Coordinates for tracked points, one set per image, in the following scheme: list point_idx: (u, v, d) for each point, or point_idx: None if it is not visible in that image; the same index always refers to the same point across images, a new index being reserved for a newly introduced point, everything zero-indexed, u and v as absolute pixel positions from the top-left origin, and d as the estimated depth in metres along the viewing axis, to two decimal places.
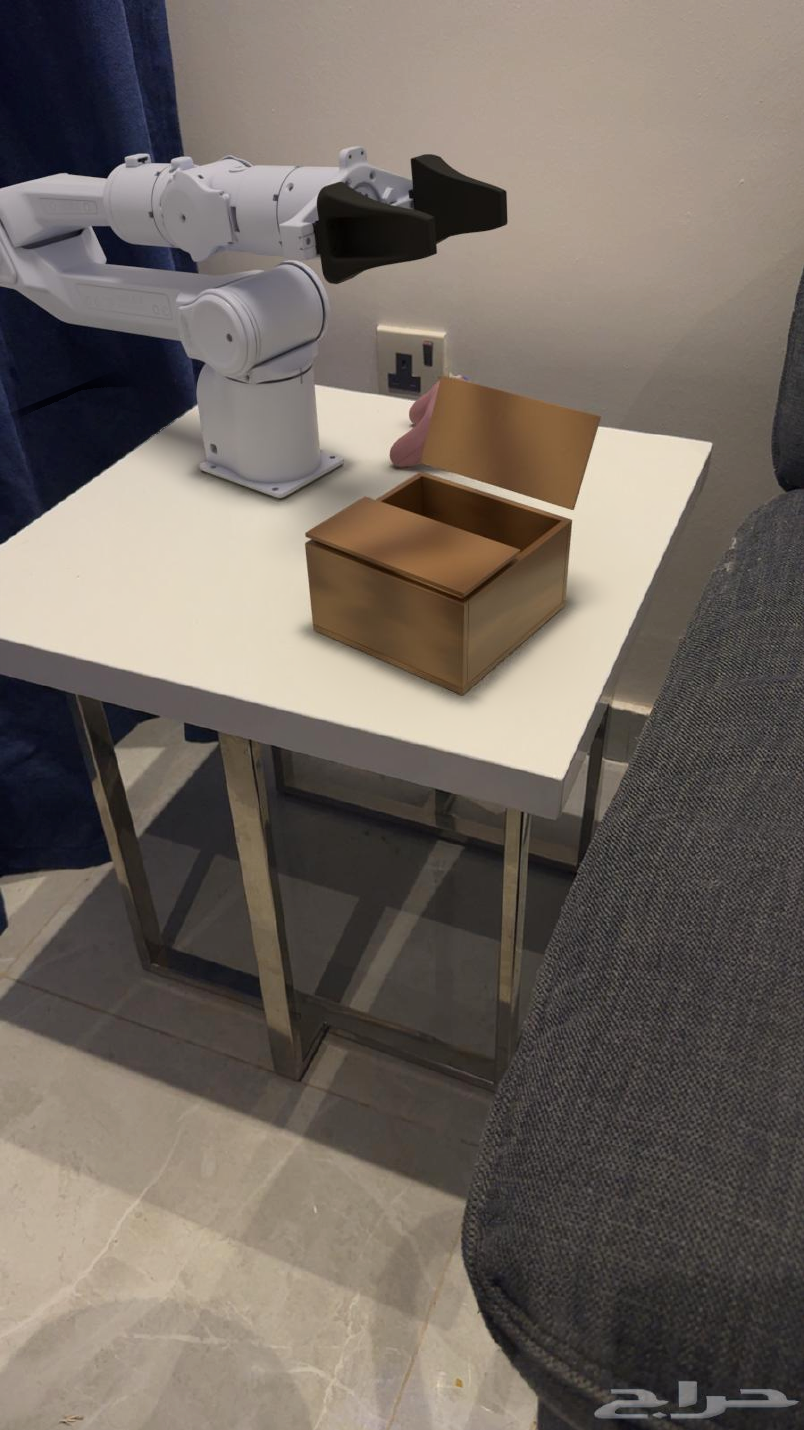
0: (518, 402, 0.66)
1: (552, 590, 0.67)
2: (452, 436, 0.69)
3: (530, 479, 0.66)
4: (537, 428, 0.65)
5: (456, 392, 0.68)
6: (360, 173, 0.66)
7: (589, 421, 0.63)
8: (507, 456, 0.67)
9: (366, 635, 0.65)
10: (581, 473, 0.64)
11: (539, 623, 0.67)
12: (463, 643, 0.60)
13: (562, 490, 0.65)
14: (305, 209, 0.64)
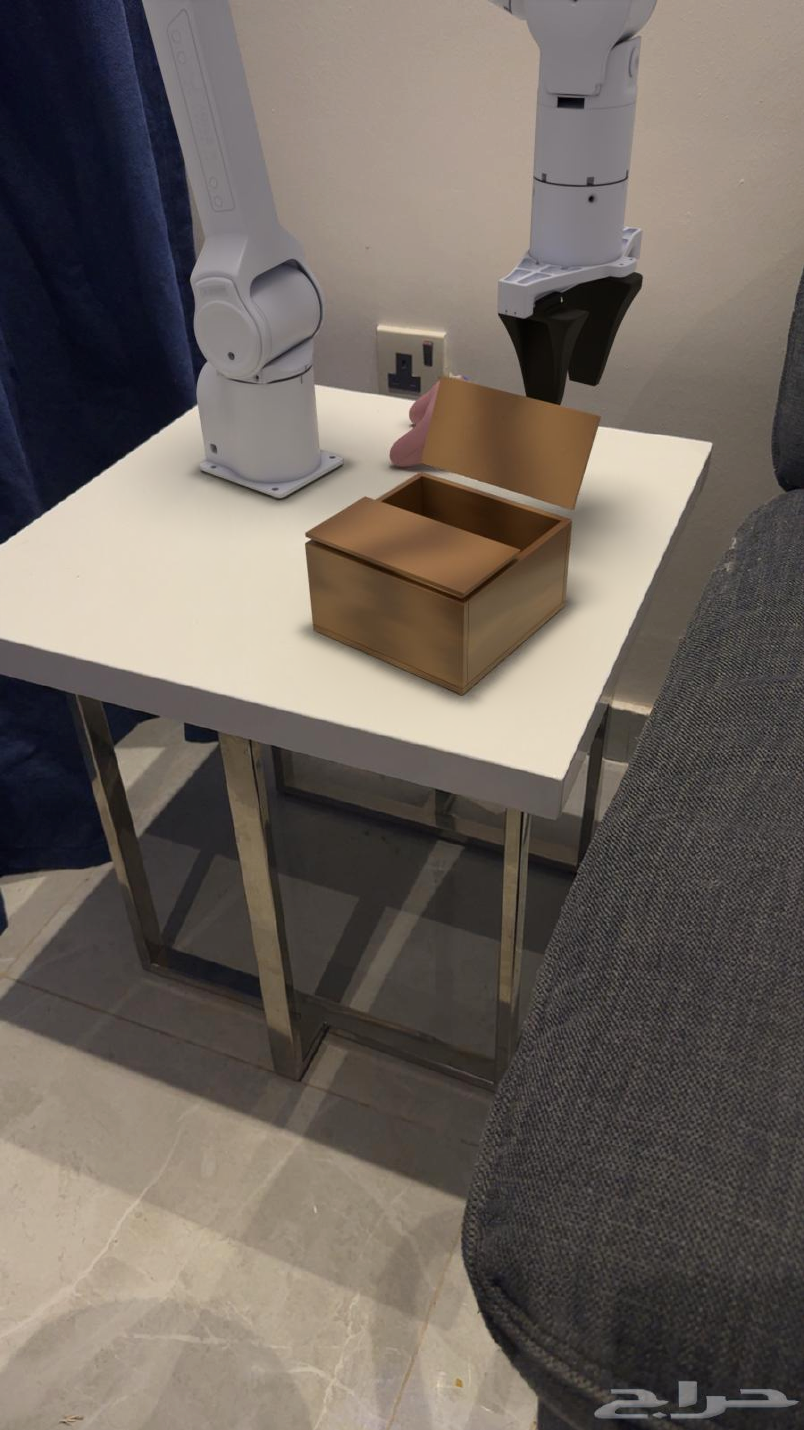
0: (518, 402, 0.66)
1: (552, 590, 0.67)
2: (452, 436, 0.69)
3: (530, 479, 0.66)
4: (537, 428, 0.65)
5: (456, 392, 0.68)
6: None
7: (589, 421, 0.63)
8: (507, 456, 0.67)
9: (366, 635, 0.65)
10: (581, 473, 0.64)
11: (539, 623, 0.67)
12: (463, 643, 0.60)
13: (562, 490, 0.65)
14: (552, 282, 0.61)
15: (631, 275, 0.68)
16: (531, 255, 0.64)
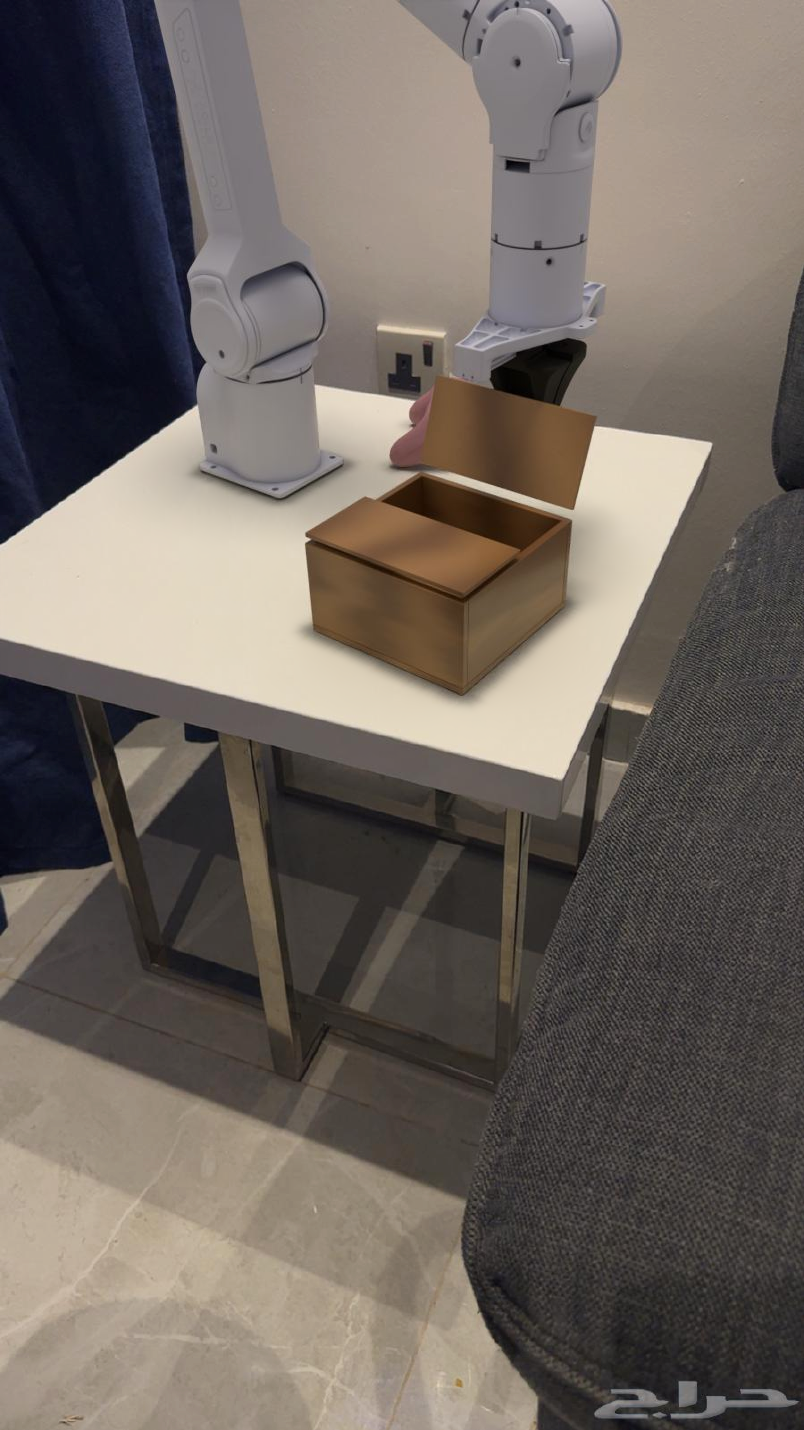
0: (514, 402, 0.65)
1: (552, 590, 0.67)
2: (450, 436, 0.69)
3: (529, 479, 0.66)
4: (534, 428, 0.65)
5: (451, 392, 0.68)
6: None
7: (585, 421, 0.63)
8: (505, 456, 0.67)
9: (366, 635, 0.65)
10: (579, 473, 0.64)
11: (539, 623, 0.67)
12: (463, 643, 0.60)
13: (561, 490, 0.65)
14: (510, 346, 0.60)
15: (575, 344, 0.65)
16: (490, 315, 0.63)
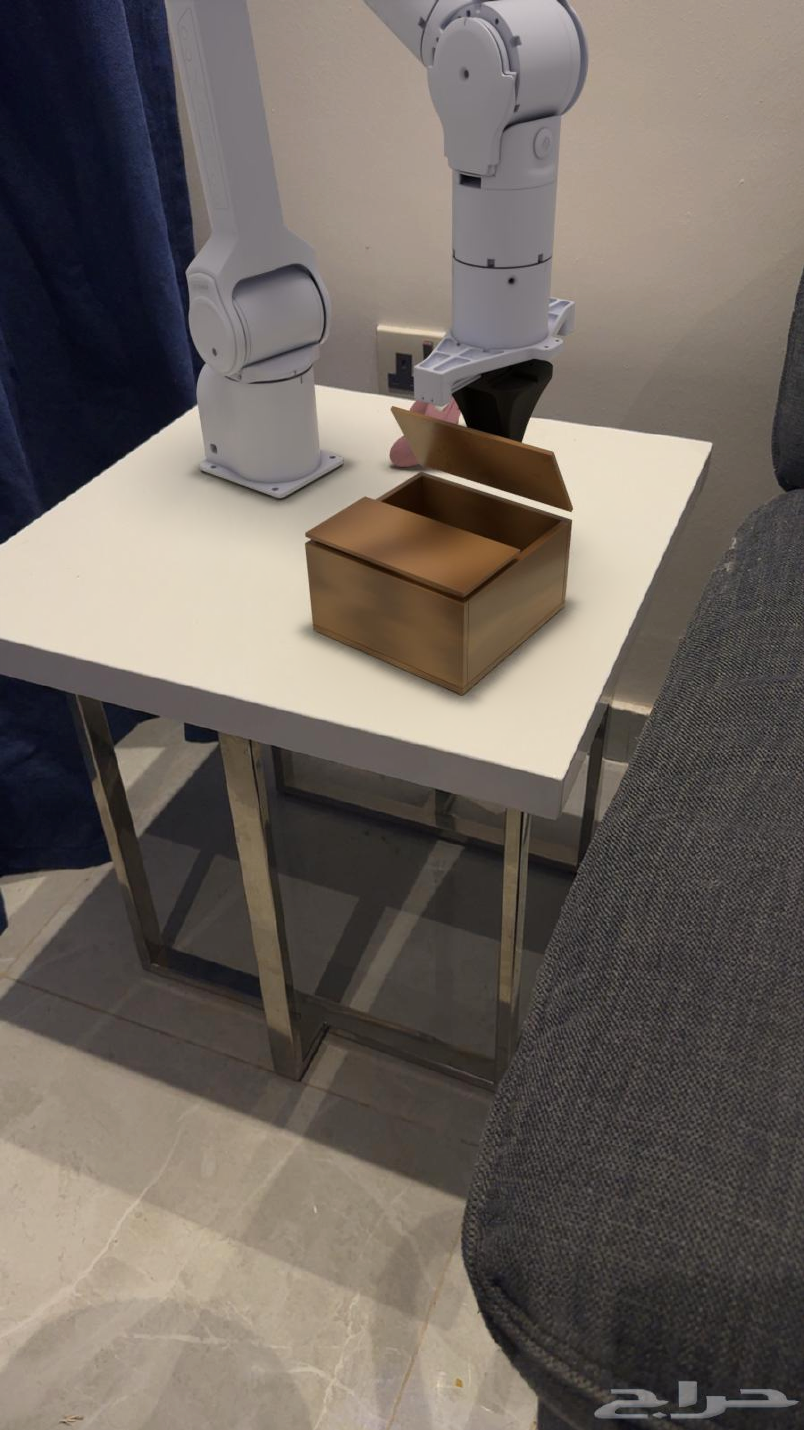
0: (472, 437, 0.63)
1: (552, 590, 0.67)
2: (433, 451, 0.68)
3: (521, 488, 0.65)
4: (502, 456, 0.63)
5: (412, 423, 0.66)
6: None
7: (545, 458, 0.60)
8: (490, 471, 0.66)
9: (366, 635, 0.65)
10: (562, 490, 0.63)
11: (539, 623, 0.67)
12: (463, 643, 0.60)
13: (553, 499, 0.64)
14: (471, 368, 0.58)
15: (540, 364, 0.63)
16: (453, 335, 0.61)
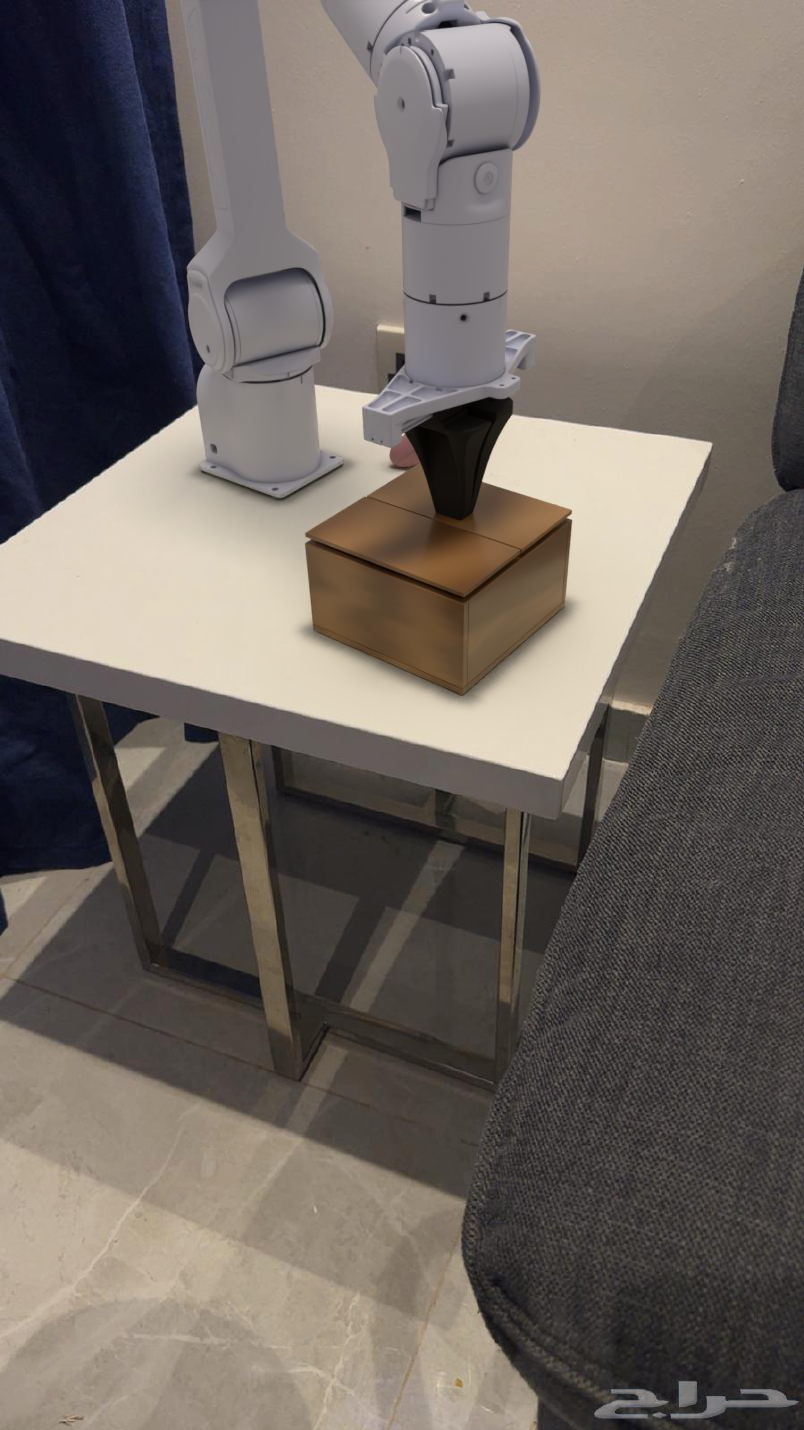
0: None
1: (552, 590, 0.67)
2: None
3: None
4: None
5: None
6: None
7: None
8: None
9: (366, 635, 0.65)
10: (551, 528, 0.64)
11: (539, 623, 0.67)
12: (463, 643, 0.60)
13: None
14: (422, 408, 0.56)
15: (500, 400, 0.61)
16: (406, 371, 0.59)
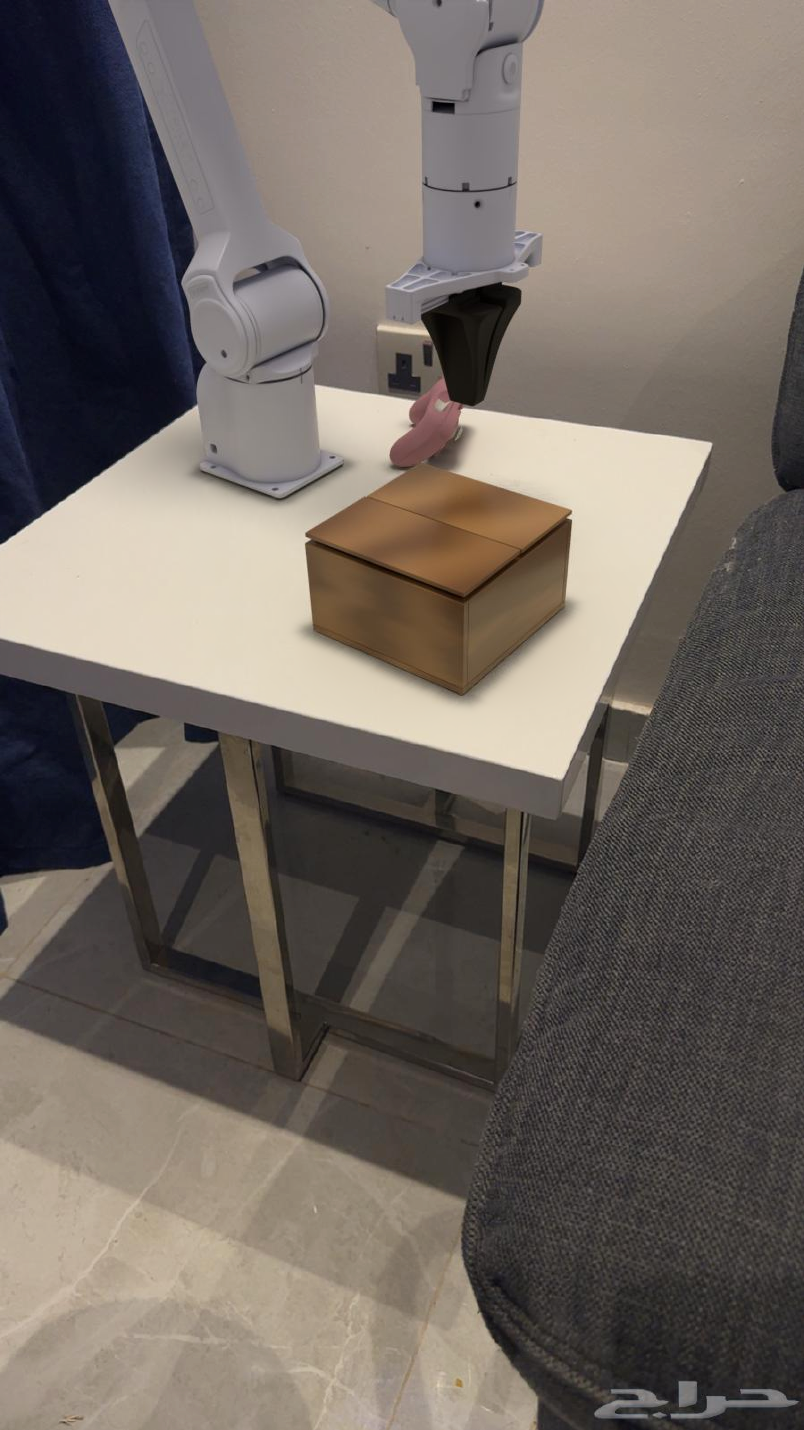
0: None
1: (552, 590, 0.67)
2: None
3: None
4: None
5: None
6: None
7: None
8: None
9: (366, 635, 0.65)
10: (551, 528, 0.64)
11: (539, 623, 0.67)
12: (463, 643, 0.60)
13: None
14: (439, 288, 0.61)
15: (509, 290, 0.66)
16: (424, 260, 0.64)
